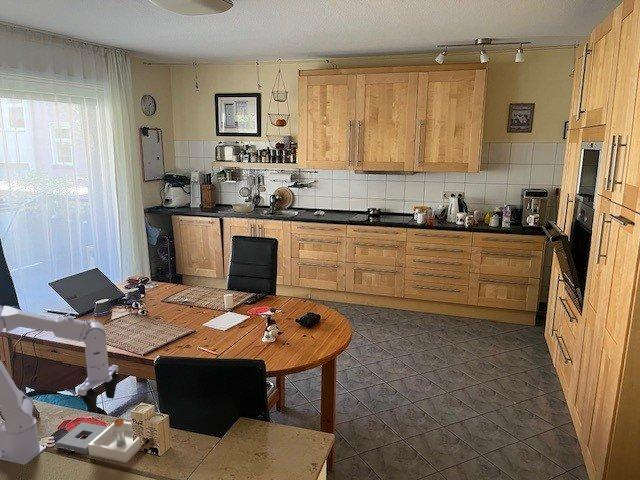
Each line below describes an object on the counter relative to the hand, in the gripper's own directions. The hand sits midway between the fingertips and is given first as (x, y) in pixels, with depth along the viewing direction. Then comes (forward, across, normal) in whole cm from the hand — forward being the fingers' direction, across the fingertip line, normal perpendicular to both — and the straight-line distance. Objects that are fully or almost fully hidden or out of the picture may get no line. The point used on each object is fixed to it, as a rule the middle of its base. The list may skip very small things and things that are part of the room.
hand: (101, 404), depth 139 cm
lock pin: (+9, -4, -9) cm, 13 cm away
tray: (+9, -4, -9) cm, 14 cm away
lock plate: (+9, -5, +3) cm, 11 cm away
